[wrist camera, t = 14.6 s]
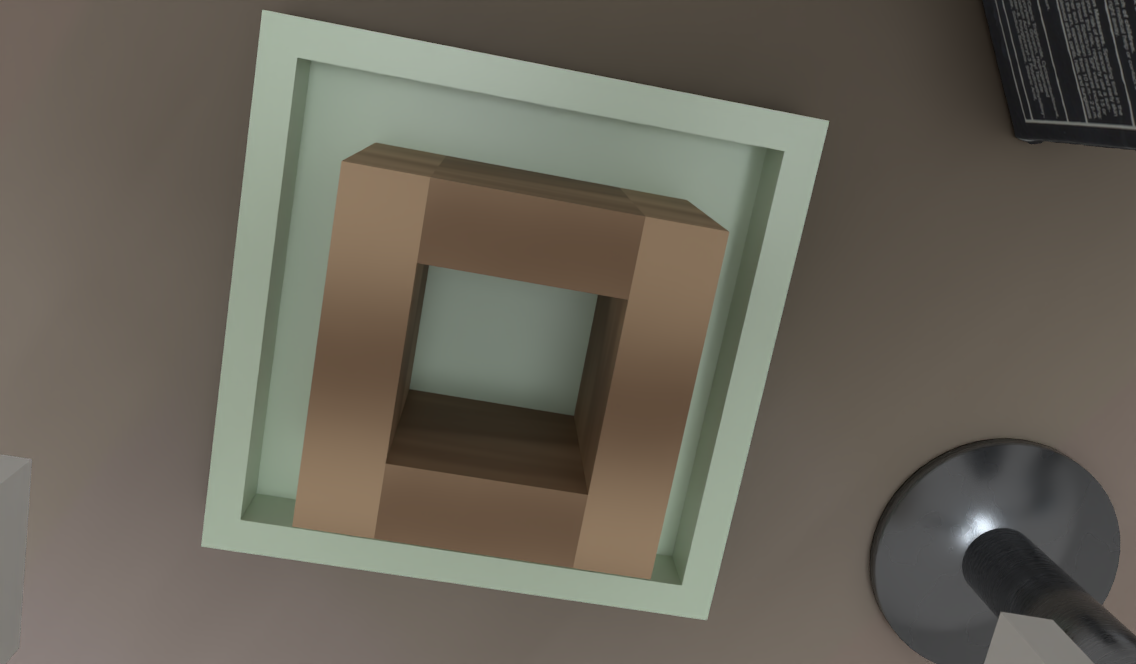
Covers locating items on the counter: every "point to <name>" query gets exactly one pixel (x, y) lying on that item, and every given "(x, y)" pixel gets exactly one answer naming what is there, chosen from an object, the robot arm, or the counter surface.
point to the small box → (1068, 69)
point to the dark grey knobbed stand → (998, 552)
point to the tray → (493, 283)
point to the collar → (490, 430)
